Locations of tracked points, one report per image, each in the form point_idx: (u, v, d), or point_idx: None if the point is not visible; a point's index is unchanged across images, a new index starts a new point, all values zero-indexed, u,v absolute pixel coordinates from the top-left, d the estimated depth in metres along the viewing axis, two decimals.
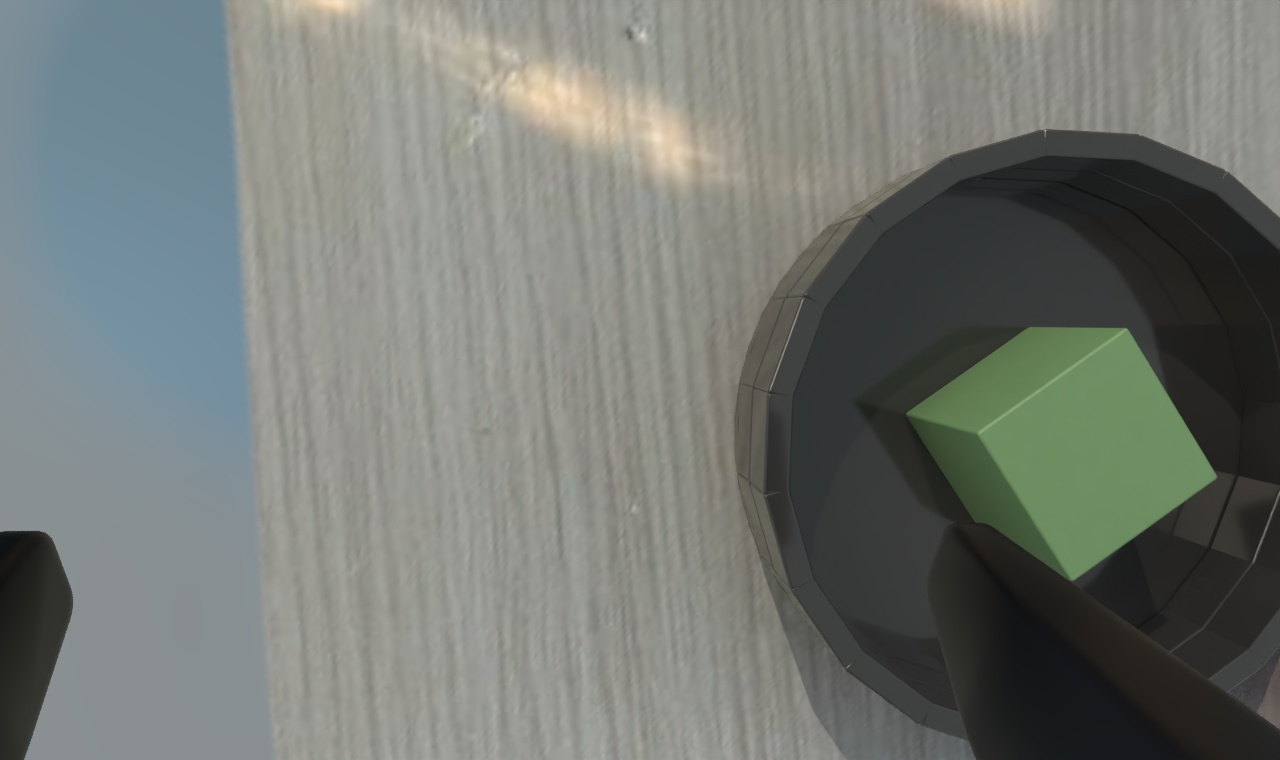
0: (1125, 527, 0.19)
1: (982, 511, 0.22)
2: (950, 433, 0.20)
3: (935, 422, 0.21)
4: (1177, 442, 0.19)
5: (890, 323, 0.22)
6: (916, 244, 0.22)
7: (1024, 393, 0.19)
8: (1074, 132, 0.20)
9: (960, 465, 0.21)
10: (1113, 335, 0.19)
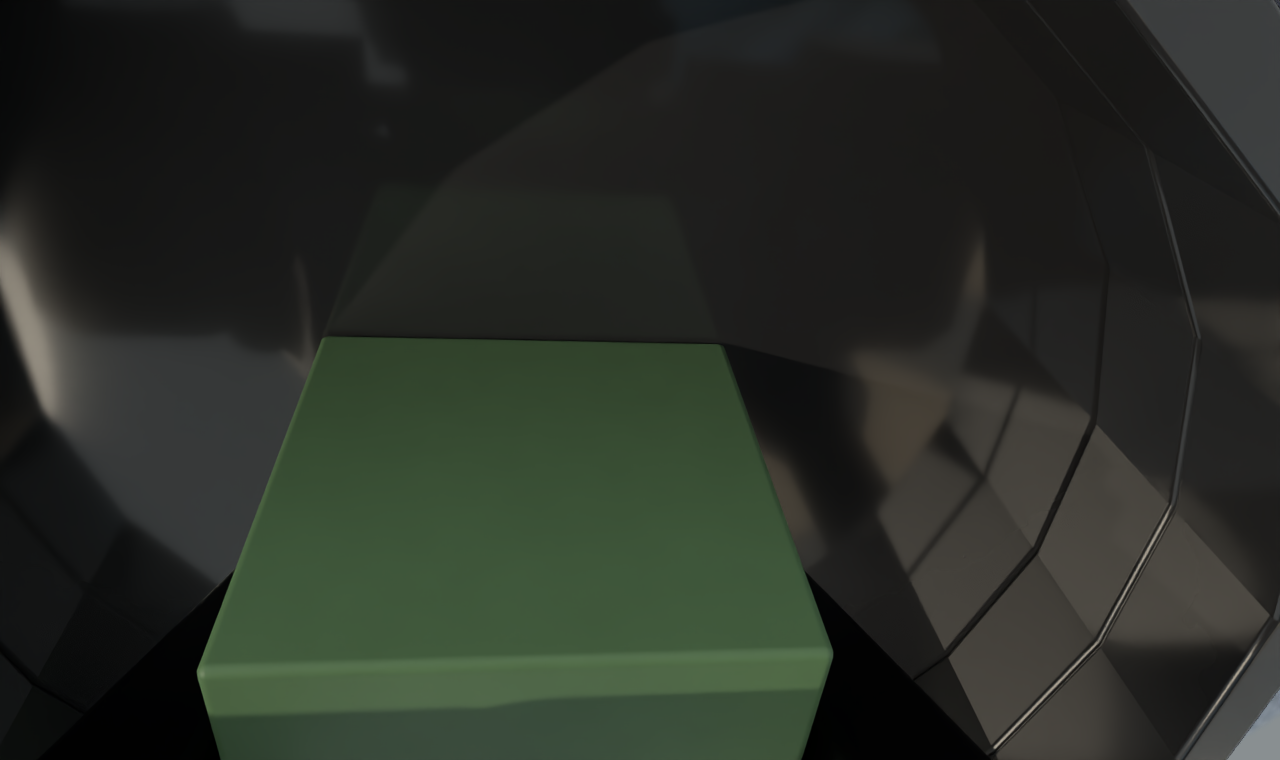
0: None
1: None
2: None
3: None
4: (647, 698, 0.06)
5: (153, 561, 0.10)
6: None
7: None
8: None
9: None
10: (204, 694, 0.05)
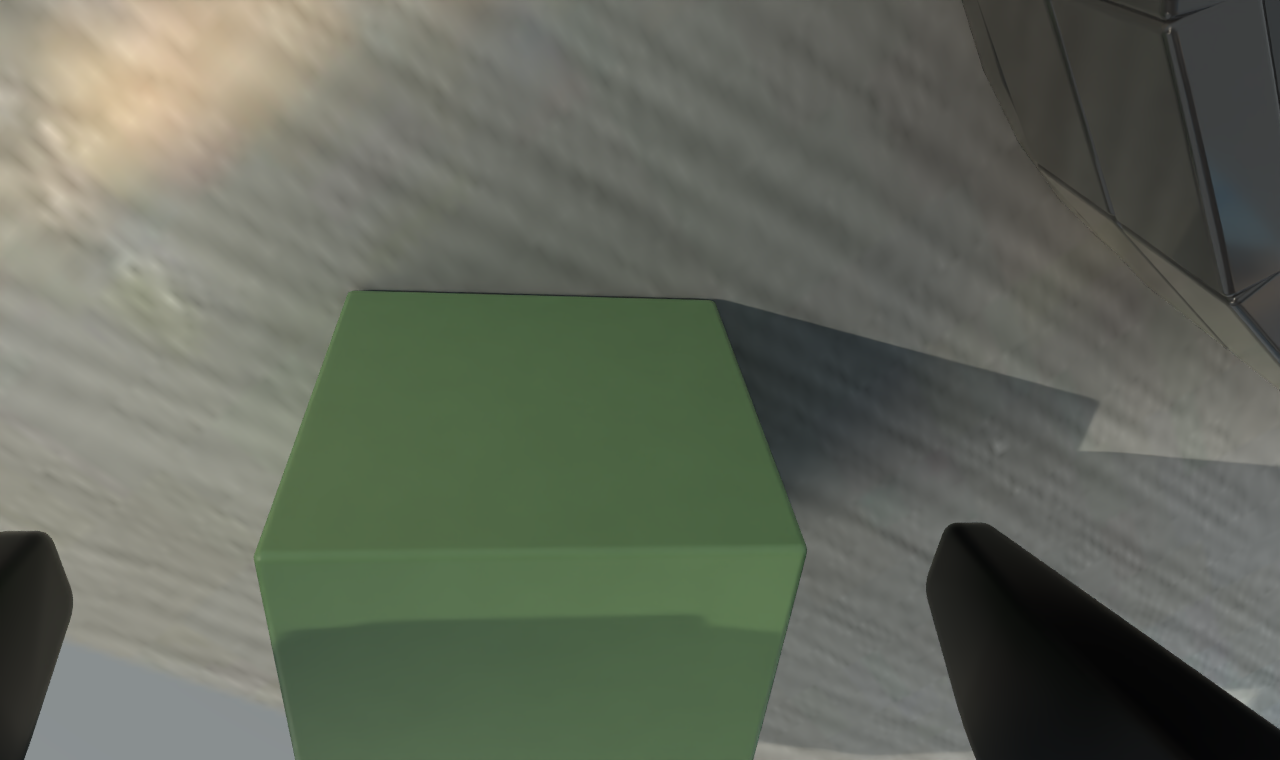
0: (722, 746, 0.08)
1: None
2: None
3: None
4: (643, 588, 0.07)
5: None
6: None
7: (301, 754, 0.08)
8: None
9: None
10: (259, 580, 0.06)
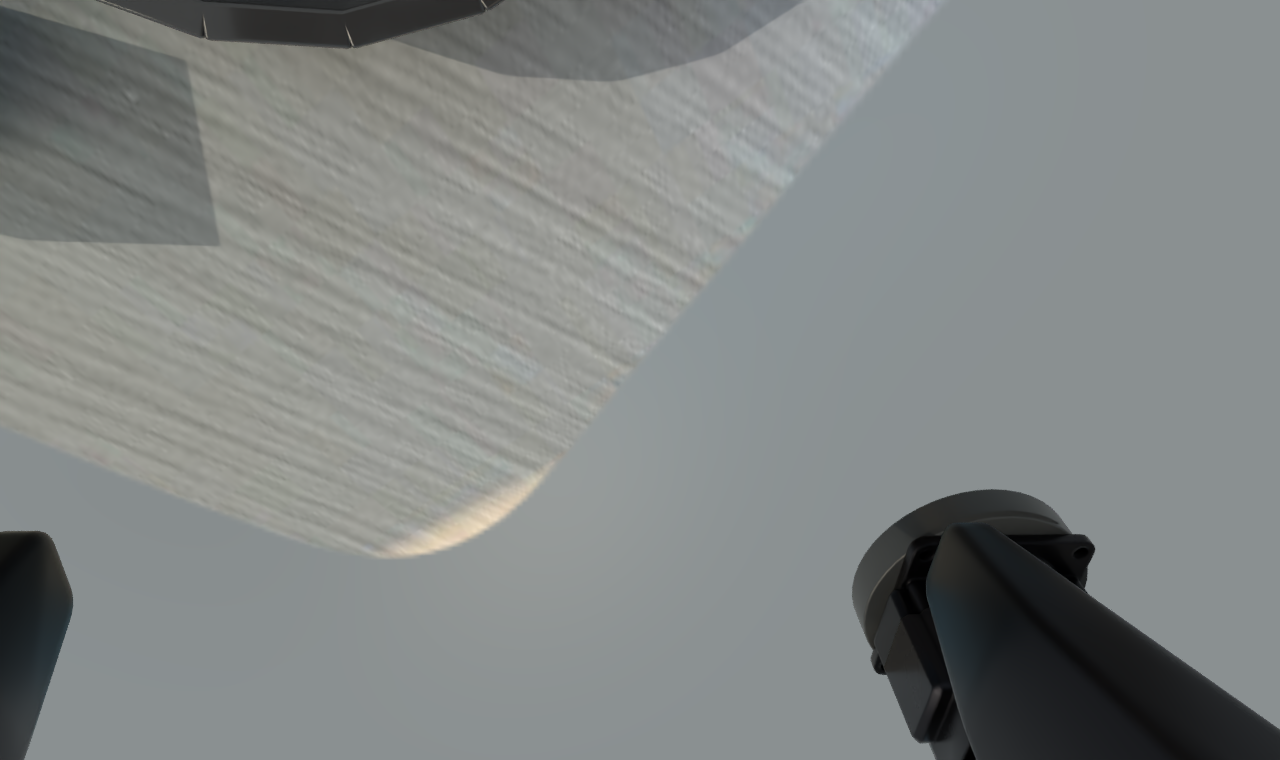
0: None
1: None
2: None
3: None
4: None
5: None
6: None
7: None
8: None
9: None
10: None
